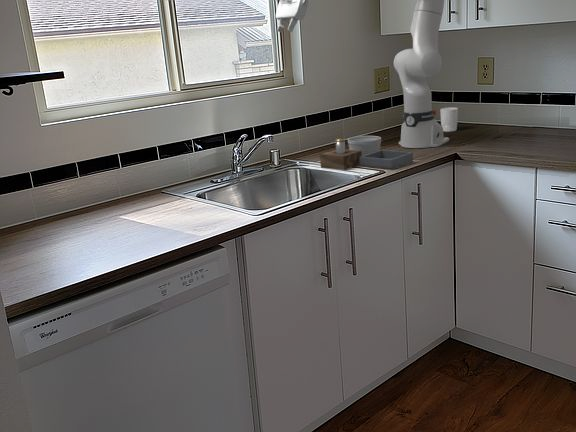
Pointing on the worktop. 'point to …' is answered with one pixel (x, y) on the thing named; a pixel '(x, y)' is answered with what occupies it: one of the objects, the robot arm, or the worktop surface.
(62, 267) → the worktop surface
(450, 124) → the white cup
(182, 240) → the worktop surface
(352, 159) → the walnut pin block
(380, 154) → the slate tray
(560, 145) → the worktop surface
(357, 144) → the ramekin
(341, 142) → the steel pin
